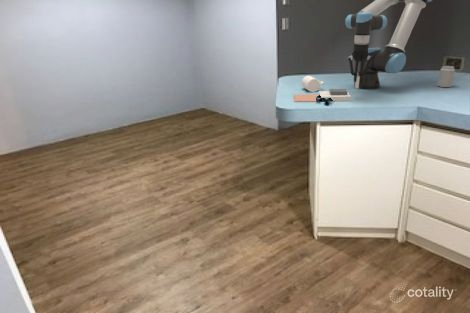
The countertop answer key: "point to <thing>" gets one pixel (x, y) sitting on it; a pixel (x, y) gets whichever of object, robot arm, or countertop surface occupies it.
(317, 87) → the mug
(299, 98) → the mat
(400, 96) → the countertop surface
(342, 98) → the deck
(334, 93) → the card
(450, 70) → the can
